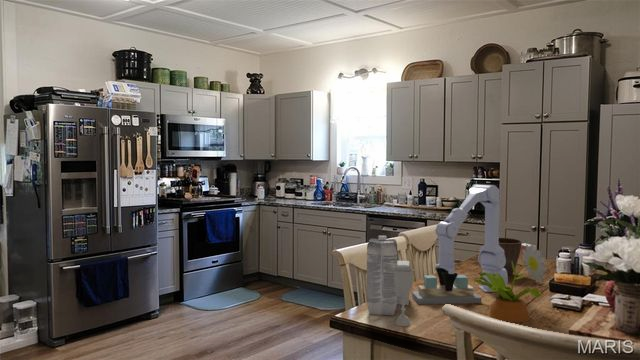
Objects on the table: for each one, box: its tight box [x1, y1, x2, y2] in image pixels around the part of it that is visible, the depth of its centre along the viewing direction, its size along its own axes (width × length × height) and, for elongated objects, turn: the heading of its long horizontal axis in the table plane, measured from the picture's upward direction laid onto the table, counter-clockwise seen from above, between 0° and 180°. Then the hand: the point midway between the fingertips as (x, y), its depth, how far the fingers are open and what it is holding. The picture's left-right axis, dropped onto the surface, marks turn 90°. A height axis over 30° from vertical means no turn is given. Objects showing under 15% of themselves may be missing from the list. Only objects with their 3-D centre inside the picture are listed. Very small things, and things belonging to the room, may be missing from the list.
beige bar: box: [417, 284, 475, 297], centre depth 191 cm, size 20×5×3 cm, turn 92°
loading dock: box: [411, 290, 482, 305], centre depth 192 cm, size 24×10×2 cm, turn 92°
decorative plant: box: [473, 243, 548, 323], centre depth 172 cm, size 27×24×25 cm
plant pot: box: [498, 237, 523, 277], centre depth 232 cm, size 15×15×16 cm
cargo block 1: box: [423, 274, 438, 288], centre depth 191 cm, size 4×4×4 cm
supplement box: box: [397, 260, 411, 306], centre depth 189 cm, size 9×9×15 cm
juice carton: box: [366, 235, 398, 317], centre depth 175 cm, size 9×10×27 cm
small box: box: [517, 242, 537, 268], centre depth 252 cm, size 8×6×10 cm
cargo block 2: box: [454, 274, 469, 288], centre depth 191 cm, size 4×4×4 cm
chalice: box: [393, 267, 415, 327], centre depth 164 cm, size 7×7×18 cm
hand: (445, 288), depth 191 cm, fingers open, 7 cm apart
